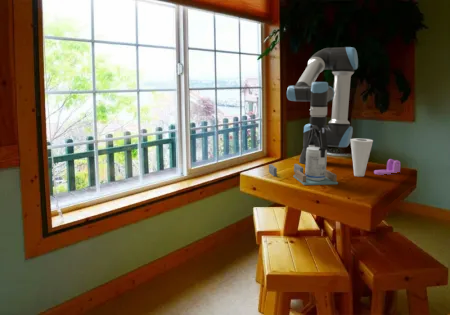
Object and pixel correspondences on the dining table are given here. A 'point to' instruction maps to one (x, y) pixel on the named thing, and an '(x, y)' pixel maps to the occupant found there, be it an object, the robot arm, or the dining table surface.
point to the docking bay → (328, 179)
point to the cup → (360, 155)
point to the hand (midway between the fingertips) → (316, 161)
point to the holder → (274, 170)
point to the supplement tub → (314, 165)
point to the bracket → (390, 167)
